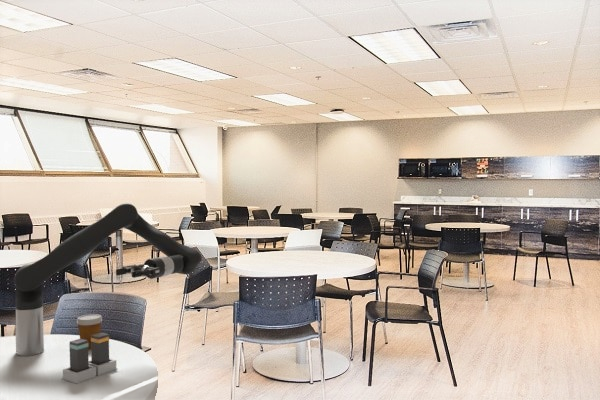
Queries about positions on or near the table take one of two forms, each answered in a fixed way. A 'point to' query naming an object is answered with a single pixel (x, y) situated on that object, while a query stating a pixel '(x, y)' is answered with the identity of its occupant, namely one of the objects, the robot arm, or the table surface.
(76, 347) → the twin plug
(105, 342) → the plug
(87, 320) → the disposable coffee cup
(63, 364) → the table surface
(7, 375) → the table surface
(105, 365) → the grey double socket holder
